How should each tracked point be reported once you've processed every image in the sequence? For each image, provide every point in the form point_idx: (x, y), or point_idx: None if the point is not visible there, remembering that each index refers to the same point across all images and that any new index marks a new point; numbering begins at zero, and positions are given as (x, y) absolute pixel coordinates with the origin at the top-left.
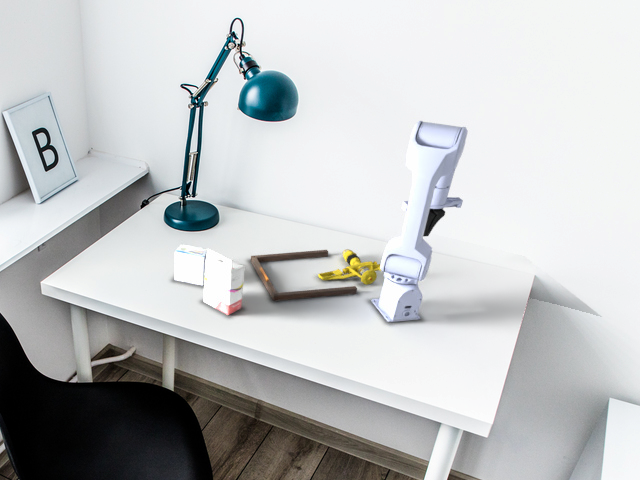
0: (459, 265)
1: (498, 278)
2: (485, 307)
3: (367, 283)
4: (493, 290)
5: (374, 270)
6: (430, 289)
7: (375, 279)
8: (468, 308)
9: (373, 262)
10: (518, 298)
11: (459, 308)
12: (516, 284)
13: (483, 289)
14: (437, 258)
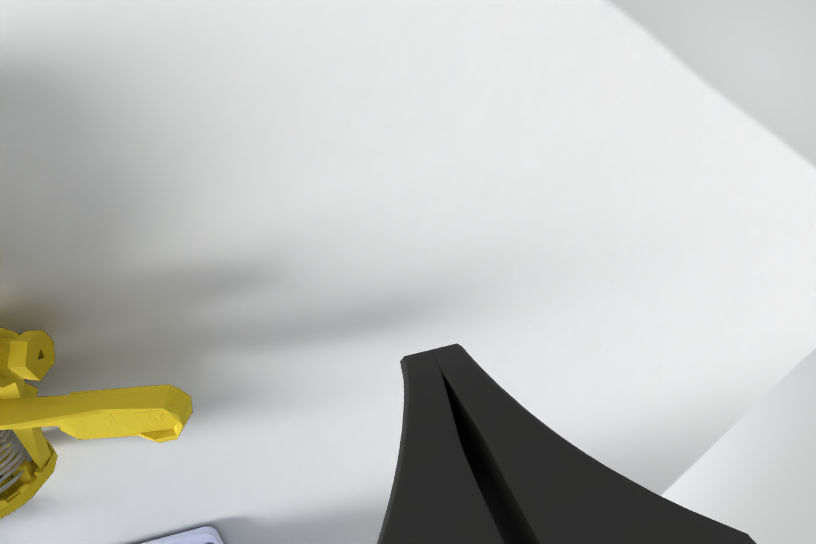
0: (659, 182)
1: (759, 303)
2: None
3: (11, 460)
4: (664, 401)
5: (29, 425)
6: (382, 433)
7: (55, 456)
8: None
9: (5, 366)
10: (716, 439)
11: None
12: (792, 344)
13: (627, 399)
14: (575, 88)
